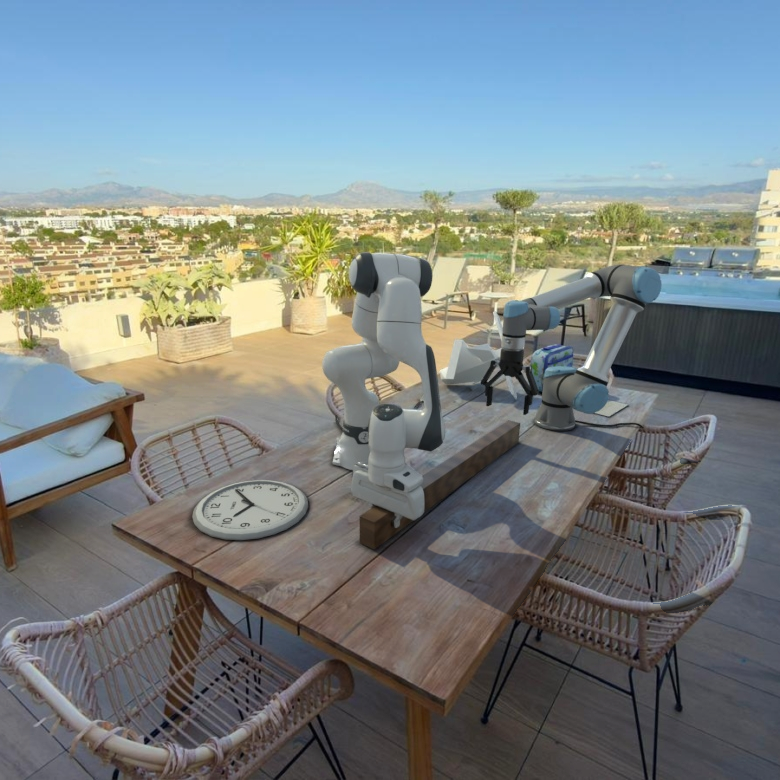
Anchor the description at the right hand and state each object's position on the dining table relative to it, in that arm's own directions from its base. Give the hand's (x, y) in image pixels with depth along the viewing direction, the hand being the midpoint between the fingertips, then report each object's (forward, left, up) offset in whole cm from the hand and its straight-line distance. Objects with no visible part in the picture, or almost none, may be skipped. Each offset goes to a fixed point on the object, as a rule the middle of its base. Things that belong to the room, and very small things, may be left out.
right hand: (506, 409), depth 179 cm
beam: (+17, +30, -14) cm, 37 cm away
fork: (+32, -42, -14) cm, 55 cm away
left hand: (+34, +59, -11) cm, 69 cm away
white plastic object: (+6, -63, -14) cm, 65 cm away
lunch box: (-28, -74, -14) cm, 80 cm away
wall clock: (+71, +53, -14) cm, 90 cm away
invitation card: (-46, -51, -14) cm, 70 cm away
